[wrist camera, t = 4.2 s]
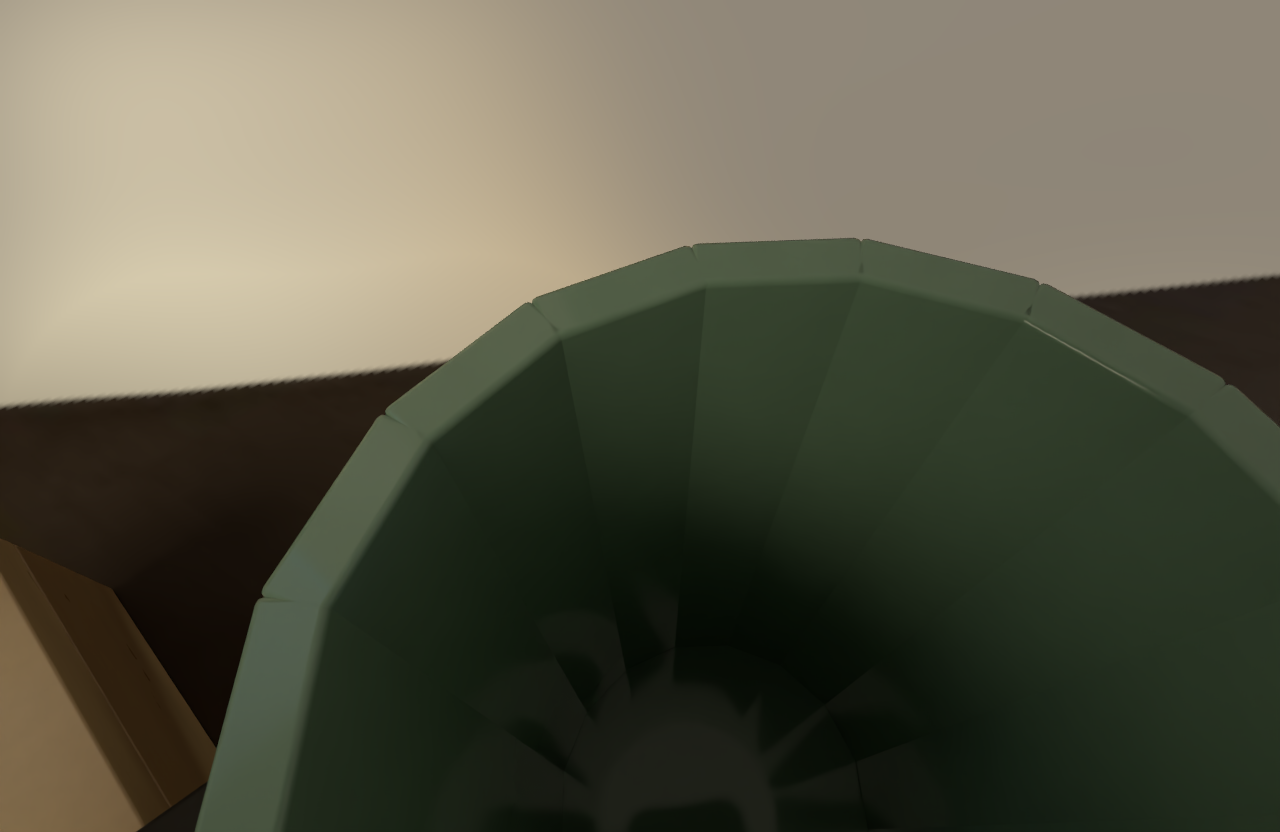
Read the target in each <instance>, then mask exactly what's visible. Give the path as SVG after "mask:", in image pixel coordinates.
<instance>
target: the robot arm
mask: <svg viewBox="0 0 1280 832" xmlns="http://www.w3.org/2000/svg"><path fill="white" fill-rule="evenodd" d="M207 783H208V781H207V782H206V783H204V784H203V785H201V786H200V787H199V788H197V789H196V790H194V791H193V792H191V793H190V794H189V795H187V796H186V797H184V798H183V799H182V800H180V801H179V802H177V803H176V804H174V805H173V806H172V807H170V808H169V809H167V810H166V811H165V812H163V813H162V814H160V815H159V816H157V817H156V818H155V819H153V820H152V821H150V822H149V823H148V824H146V825H145V826H143V827H142V828H140V829H139V830H138V831H136V832H195V828H196V824H197V820H198V817H199V813H200V809H201V805H202V802H203V798H204V794H205V790H206V787H207Z"/></svg>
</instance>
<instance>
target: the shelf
mask: <svg viewBox="0 0 1280 832" xmlns="http://www.w3.org/2000/svg"><path fill="white" fill-rule="evenodd" d="M215 753H216V747H215V746H214V744H213V743H212V741H211V740H210V738H209V737H208V735H207V734H206V732H205V731H204V729H203V728H202V726H201V724H200V723H199V721H198V720H197V718H196V717H195V715H194V714H193V712H192V711H191V709H190V708H189V706H188V705H187V703H186V702H185V700H184V698H183V697H182V695H181V694H180V692H179V691H178V689H177V688H176V686H175V685H174V683H173V682H172V680H171V679H170V677H169V676H168V674H167V672H166V671H165V669H164V668H163V666H162V665H161V663H160V662H159V660H158V659H157V657H156V656H155V654H154V653H153V651H152V650H151V648H150V647H149V645H148V643H147V642H146V640H145V639H144V637H143V636H142V634H141V633H140V631H139V630H138V628H137V627H136V625H135V624H134V622H133V621H132V619H131V617H130V616H129V614H128V613H127V611H126V610H125V608H124V607H123V605H122V604H121V602H120V601H119V599H118V598H117V596H116V595H115V593H114V592H113V590H112V589H111V588H109V587H107V586H105V585H102V584H100V583H98V582H96V581H93V580H91V579H89V578H87V577H85V576H82V575H80V574H78V573H76V572H74V571H71V570H69V569H67V568H65V567H63V566H60V565H58V564H56V563H54V562H52V561H49V560H47V559H45V558H43V557H41V556H38V555H36V554H34V553H32V552H30V551H27V550H25V549H23V548H21V547H19V546H16V545H13V544H12V543H10V542H8V541H6V540H3V539H1V538H0V832H136V831H138V830H139V829H140V828H142V827H143V826H145V825H146V824H148V823H149V822H150V821H152V820H153V819H155V818H156V817H157V816H159V815H160V814H162V813H163V812H165V811H166V810H167V809H169V808H170V807H172V806H173V805H174V804H176V803H177V802H179V801H180V800H182V799H183V798H184V797H186V796H187V795H189V794H190V793H191V792H193V791H194V790H196V789H197V788H199V787H200V786H201V785H203V784H204V783H206V782H207V781H208V779H209V775H210V772H211V768H212V764H213V760H214V757H215Z"/></svg>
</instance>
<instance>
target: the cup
mask: <svg viewBox="0 0 1280 832" xmlns="http://www.w3.org/2000/svg"><path fill="white" fill-rule="evenodd" d="M385 414H386V415H381V416H379V417H378V418H377V419H376V421H375V422H374V424H373V425H372V427H371V428H370V430H369V431H368V433H367V434H366V436H365V437H364V438H363V440H362V441H361V443H360V444H359V446H358V447H357V449H356V450H355V452H354V453H353V455H352V456H351V458H350V459H349V461H348V462H347V464H346V465H345V467H344V468H343V470H342V471H341V473H340V474H339V476H338V477H337V479H336V480H335V481H334V483H333V484H332V486H331V487H330V489H329V490H328V492H327V493H326V495H325V496H324V498H323V499H322V501H321V502H320V504H319V505H318V507H317V508H316V510H315V511H314V513H313V514H312V516H311V517H310V519H309V520H308V521H307V523H306V524H305V526H304V527H303V529H302V530H301V532H300V533H299V535H298V536H297V538H296V539H295V541H294V542H293V544H292V545H291V547H290V548H289V550H288V551H287V553H286V554H285V556H284V557H283V559H282V560H281V561H280V563H279V564H278V566H277V567H276V569H275V570H274V572H273V573H272V575H271V576H270V578H269V579H268V581H267V582H266V584H265V585H264V587H263V590H262V595H263V597H264V598H261V599H258V601H257V602H256V604H255V607H254V611H253V614H252V618H251V622H250V626H249V629H248V633H247V637H246V641H245V644H244V648H243V652H242V656H241V659H240V663H239V667H238V671H237V674H236V678H235V682H234V686H233V689H232V693H231V697H230V701H229V704H228V708H227V712H226V716H225V719H224V723H223V727H222V730H221V734H220V738H219V742H218V745H217V749H216V753H215V757H214V760H213V764H212V768H211V772H210V775H209V779H208V783H207V787H206V790H205V794H204V798H203V802H202V805H201V809H200V813H199V817H198V820H197V824H196V828H195V832H1280V427H1279V426H1278V425H1277V424H1276V423H1275V422H1274V421H1273V420H1272V419H1271V418H1270V417H1268V416H1267V415H1266V414H1265V413H1264V412H1263V411H1262V410H1261V409H1260V408H1259V407H1257V406H1256V405H1255V404H1254V403H1253V402H1252V401H1251V400H1250V399H1249V398H1247V397H1246V396H1245V395H1244V394H1243V393H1242V392H1241V391H1240V390H1239V389H1238V388H1236V387H1234V386H1232V385H1225V380H1224V379H1223V378H1222V377H1221V376H1219V375H1217V374H1215V373H1213V372H1211V371H1209V370H1207V369H1206V368H1204V367H1202V366H1200V365H1198V364H1196V363H1194V362H1192V361H1191V360H1189V359H1187V358H1185V357H1183V356H1181V355H1179V354H1177V353H1176V352H1174V351H1172V350H1170V349H1168V348H1166V347H1164V346H1162V345H1161V344H1159V343H1157V342H1155V341H1153V340H1151V339H1149V338H1147V337H1146V336H1144V335H1142V334H1140V333H1138V332H1136V331H1134V330H1132V329H1131V328H1129V327H1127V326H1125V325H1123V324H1121V323H1119V322H1117V321H1116V320H1114V319H1112V318H1110V317H1108V316H1106V315H1104V314H1102V313H1101V312H1099V311H1097V310H1095V309H1093V308H1091V307H1089V306H1087V305H1086V304H1084V303H1082V302H1080V301H1078V300H1076V299H1074V298H1072V297H1071V296H1069V295H1067V294H1065V293H1063V292H1061V291H1059V290H1057V289H1056V288H1053V287H1052V286H1050V285H1048V284H1041V285H1039V282H1038V281H1037V280H1035V279H1032V278H1027V277H1024V276H1020V275H1015V274H1011V273H1007V272H1003V271H999V270H995V269H990V268H986V267H982V266H978V265H973V264H970V263H965V262H961V261H957V260H953V259H949V258H945V257H940V256H936V255H932V254H928V253H923V252H919V251H915V250H911V249H907V248H903V247H899V246H895V245H890V244H886V243H882V242H878V241H874V240H870V239H863V240H862V241H860V240H859V239H856V238H840V239H813V240H786V241H758V242H731V243H705V244H704V243H703V244H695V245H693V247H692V248H691V247H689V246H683V247H681V248H678V249H675V250H672V251H669V252H666V253H664V254H660V255H657V256H654V257H652V258H649V259H646V260H643V261H640V262H637V263H634V264H632V265H628V266H625V267H623V268H620V269H617V270H614V271H611V272H608V273H605V274H602V275H600V276H597V277H594V278H591V279H588V280H585V281H582V282H579V283H577V284H573V285H570V286H567V287H565V288H562V289H559V290H556V291H553V292H550V293H547V294H544V295H541V296H539V297H536V298H535V299H533V301H532V303H529V302H528V303H525V304H523V305H522V306H520V307H519V308H518V309H516V310H515V311H514V312H512V313H511V314H510V315H509V316H507V317H506V318H505V319H503V320H502V321H501V322H499V323H498V324H497V325H495V326H494V327H493V328H491V329H490V330H489V331H487V332H486V333H485V334H483V335H482V336H481V337H480V338H478V339H477V340H476V341H474V342H473V343H472V344H470V345H469V346H468V347H466V348H465V349H464V350H462V351H461V352H460V353H458V354H457V355H456V356H454V357H453V358H452V359H450V360H449V361H448V362H446V363H445V364H444V365H443V366H441V367H440V368H439V369H437V370H436V371H435V372H433V373H432V374H431V375H429V376H428V377H427V378H425V379H424V380H423V381H421V382H420V383H419V384H417V385H416V386H415V387H413V388H412V389H411V390H409V391H408V392H407V393H406V394H404V395H403V396H402V397H400V398H399V399H398V400H396V401H395V402H394V403H392V404H391V405H390V406H388V408H387V409H386V410H385Z"/></svg>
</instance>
